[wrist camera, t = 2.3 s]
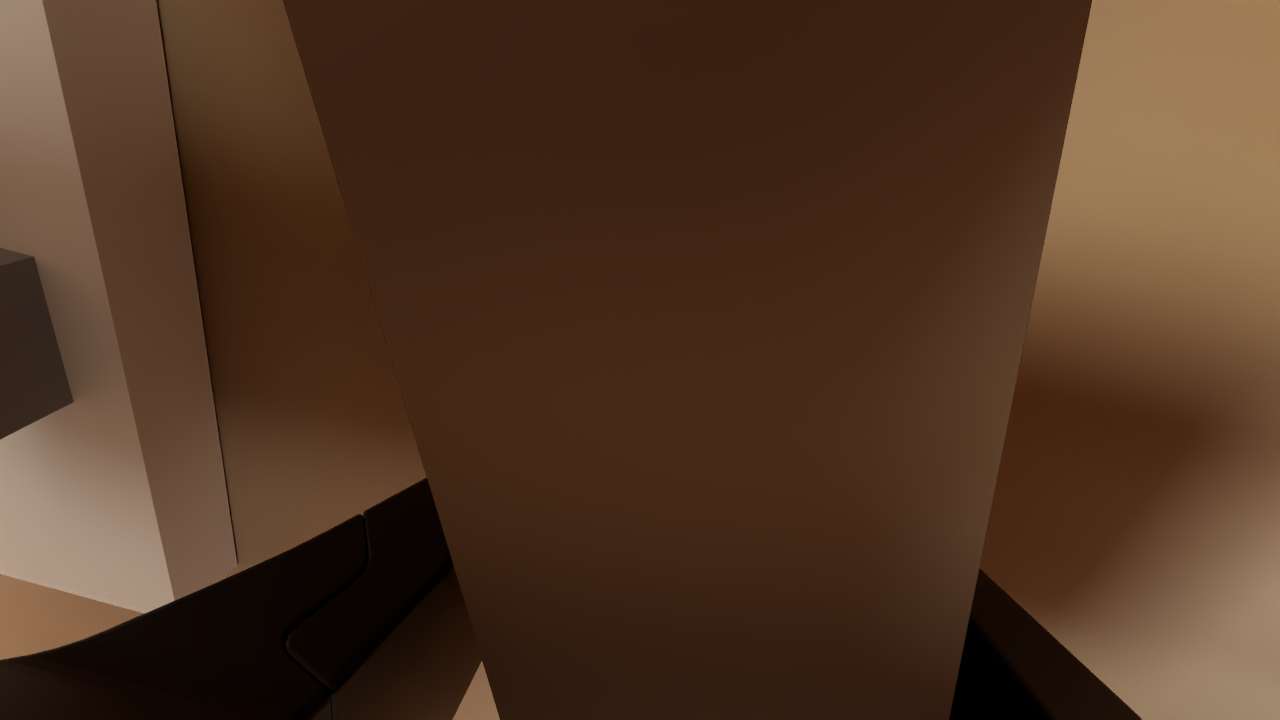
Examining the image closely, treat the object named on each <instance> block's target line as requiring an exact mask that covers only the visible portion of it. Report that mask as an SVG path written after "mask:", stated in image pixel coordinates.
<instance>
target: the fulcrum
mask: <svg viewBox="0 0 1280 720" xmlns="http://www.w3.org/2000/svg"><path fill="white" fill-rule="evenodd" d="M236 566H237V559H236V552H235V546H234V539H233V532H232V525H231V518H230V511H229V504H228V497H227V490H226V483H225V476H224V469H223V462H222V455H221V448H220V441H219V434H218V427H217V420H216V413H215V406H214V399H213V392H212V386H211V379H210V372H209V365H208V358H207V351H206V344H205V337H204V330H203V323H202V316H201V309H200V302H199V295H198V288H197V281H196V274H195V267H194V260H193V253H192V246H191V239H190V232H189V225H188V219H187V212H186V205H185V198H184V191H183V184H182V177H181V170H180V163H179V156H178V149H177V142H176V135H175V128H174V121H173V114H172V107H171V100H170V93H169V86H168V79H167V72H166V65H165V59H164V52H163V45H162V38H161V31H160V24H159V17H158V10H157V3H156V0H0V574H2V575H6V576H9V577H13V578H16V579H20V580H24V581H27V582H31V583H35V584H38V585H42V586H46V587H49V588H53V589H56V590H60V591H64V592H67V593H71V594H75V595H78V596H82V597H86V598H89V599H93V600H96V601H100V602H104V603H107V604H111V605H115V606H118V607H122V608H126V609H129V610H133V611H136V612H140V613H144V614H145V613H147V612H149V611H152V610H154V609H156V608H159V607H161V606H163V605H166V604H168V603H170V602H173V601H175V600H177V599H179V598H182V597H184V596H186V595H189V594H191V593H193V592H196V591H198V590H200V589H203V588H205V587H207V586H209V585H212V584H214V583H216V582H219V581H221V580H223V579H224V578H225V577H226V576H227V575H228V574H229V573H230V572H231V571H232V570H233V569H234V568H235V567H236Z"/></svg>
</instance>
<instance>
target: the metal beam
mask: <svg viewBox="0 0 1280 720" xmlns="http://www.w3.org/2000/svg"><path fill="white" fill-rule="evenodd" d="M283 2H284V6H285V9H286V12H287V16H288V19H289V22H290V25H291V29H292V32H293V35H294V39H295V42H296V45H297V49H298V52H299V55H300V59H301V62H302V65H303V68H304V72H305V75H306V78H307V82H308V85H309V88H310V92H311V95H312V98H313V102H314V105H315V108H316V112H317V115H318V118H319V121H320V125H321V128H322V131H323V135H324V138H325V141H326V145H327V148H328V151H329V155H330V158H331V161H332V164H333V168H334V171H335V174H336V178H337V181H338V184H339V188H340V191H341V194H342V198H343V201H344V204H345V207H346V211H347V214H348V217H349V221H350V224H351V227H352V231H353V234H354V237H355V241H356V244H357V247H358V251H359V254H360V257H361V260H362V264H363V267H364V270H365V274H366V277H367V280H368V284H369V287H370V290H371V294H372V297H373V300H374V303H375V307H376V310H377V313H378V317H379V320H380V323H381V327H382V330H383V333H384V337H385V340H386V343H387V347H388V350H389V353H390V356H391V360H392V363H393V366H394V370H395V373H396V376H397V380H398V383H399V386H400V390H401V393H402V396H403V399H404V403H405V406H406V409H407V413H408V416H409V419H410V423H411V426H412V429H413V433H414V436H415V439H416V443H417V446H418V449H419V452H420V456H421V459H422V462H423V466H424V469H425V472H426V476H427V479H428V482H429V486H430V489H431V492H432V495H433V499H434V502H435V505H436V509H437V512H438V515H439V519H440V522H441V525H442V529H443V532H444V535H445V539H446V542H447V545H448V548H449V552H450V555H451V558H452V562H453V565H454V568H455V572H456V575H457V578H458V582H459V585H460V588H461V591H462V595H463V598H464V601H465V605H466V608H467V611H468V615H469V618H470V621H471V625H472V628H473V631H474V635H475V638H476V641H477V644H478V648H479V651H480V654H481V658H482V661H483V664H484V668H485V671H486V674H487V678H488V681H489V684H490V687H491V691H492V694H493V697H494V701H495V704H496V707H497V711H498V714H499V717H500V720H949V717H950V712H951V707H952V702H953V697H954V692H955V687H956V682H957V677H958V672H959V667H960V662H961V657H962V652H963V647H964V642H965V637H966V632H967V627H968V622H969V617H970V612H971V607H972V602H973V597H974V592H975V587H976V582H977V577H978V572H979V567H980V561H981V556H982V551H983V546H984V541H985V536H986V531H987V526H988V521H989V516H990V511H991V506H992V501H993V496H994V491H995V486H996V481H997V476H998V471H999V466H1000V461H1001V456H1002V451H1003V446H1004V441H1005V436H1006V431H1007V426H1008V421H1009V416H1010V411H1011V406H1012V401H1013V396H1014V390H1015V385H1016V380H1017V375H1018V370H1019V365H1020V360H1021V355H1022V350H1023V345H1024V340H1025V335H1026V330H1027V325H1028V320H1029V315H1030V310H1031V305H1032V300H1033V295H1034V290H1035V285H1036V280H1037V275H1038V270H1039V265H1040V260H1041V255H1042V250H1043V245H1044V240H1045V235H1046V230H1047V225H1048V219H1049V214H1050V209H1051V204H1052V199H1053V194H1054V189H1055V184H1056V179H1057V174H1058V169H1059V164H1060V159H1061V154H1062V149H1063V144H1064V139H1065V134H1066V129H1067V124H1068V119H1069V114H1070V109H1071V104H1072V99H1073V94H1074V89H1075V84H1076V79H1077V74H1078V69H1079V64H1080V59H1081V53H1082V48H1083V43H1084V38H1085V33H1086V28H1087V23H1088V18H1089V13H1090V8H1091V3H1092V0H283Z"/></svg>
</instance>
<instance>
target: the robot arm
mask: <svg viewBox="0 0 1280 720" xmlns="http://www.w3.org/2000/svg"><path fill="white" fill-rule="evenodd" d="M481 661H482V658H481V654H480V651H479V648H478V644H477V641H476V638H475V635H474V631H473V628H472V625H471V621H470V618H469V615H468V611H467V608H466V605H465V601H464V598H463V595H462V591H461V588H460V585H459V582H458V578H457V575H456V572H455V568H454V565H453V562H452V558H451V555H450V552H449V548H448V545H447V542H446V539H445V535H444V532H443V529H442V525H441V522H440V519H439V515H438V512H437V509H436V505H435V502H434V499H433V495H432V492H431V489H430V486H429V482H428V479H427V478H425V479H423V480H421V481H419V482H418V483H416V484H414V485H412V486H410V487H408V488H406V489H405V490H403V491H401V492H399V493H397V494H395V495H393V496H392V497H390V498H388V499H386V500H384V501H382V502H380V503H379V504H377V505H375V506H373V507H371V508H369V509H367V510H366V511H364V512H363V516H362V515H361V514H358V515H356V516H354V517H352V518H350V519H348V520H346V521H345V522H343V523H341V524H339V525H337V526H335V527H333V528H332V529H330V530H328V531H326V532H324V533H322V534H320V535H318V536H316V537H314V538H312V539H310V540H308V541H306V542H304V543H302V544H300V545H298V546H296V547H294V548H292V549H290V550H288V551H286V552H283V553H281V554H279V555H277V556H275V557H272V558H270V559H268V560H266V561H264V562H262V563H259V564H257V565H255V566H253V567H251V568H248V569H246V570H244V571H242V572H240V573H237V574H235V575H233V576H230V577H228V578H226V579H223V580H221V581H219V582H216V583H214V584H212V585H209V586H207V587H205V588H203V589H200V590H198V591H196V592H193V593H191V594H189V595H186V596H184V597H182V598H179V599H177V600H175V601H173V602H170V603H168V604H166V605H163V606H161V607H159V608H156V609H154V610H152V611H149V612H147V613H145V614H142V615H140V616H138V617H136V618H133V619H131V620H129V621H126V622H124V623H122V624H119V625H117V626H115V627H112V628H110V629H108V630H105V631H103V632H100V633H98V634H95V635H93V636H90V637H88V638H85V639H83V640H80V641H76V642H73V643H70V644H67V645H64V646H61V647H58V648H55V649H51V650H47V651H43V652H39V653H35V654H31V655H26V656H21V657H15V658H9V659H3V660H0V720H452V719H453V717H454V715H455V713H456V711H457V709H458V707H459V705H460V703H461V701H462V699H463V697H464V695H465V693H466V691H467V689H468V687H469V685H470V683H471V681H472V679H473V677H474V675H475V673H476V671H477V669H478V667H479V665H480V663H481ZM949 720H1142V719H1141V718H1140V716H1138V715H1137V714H1136V713H1135V712H1134V711H1133V710H1132V709H1131V708H1130V707H1129V706H1128V705H1127V704H1126V703H1124V702H1123V701H1122V700H1121V699H1120V698H1119V697H1118V696H1117V695H1116V694H1115V693H1114V692H1113V691H1111V690H1110V689H1109V688H1108V687H1107V686H1106V685H1105V684H1104V683H1103V682H1102V681H1101V680H1100V679H1099V678H1097V677H1096V676H1095V675H1094V674H1093V673H1092V672H1091V671H1090V670H1089V669H1088V668H1087V667H1086V666H1085V665H1083V664H1082V663H1081V662H1080V661H1079V660H1078V659H1077V658H1076V657H1075V656H1074V655H1073V654H1072V653H1070V652H1069V651H1068V650H1067V649H1066V648H1065V647H1064V646H1063V645H1062V644H1061V643H1060V642H1059V641H1058V640H1056V639H1055V638H1054V637H1053V636H1052V635H1051V634H1050V633H1049V632H1048V631H1047V630H1046V629H1045V628H1043V627H1042V626H1041V625H1040V624H1039V623H1038V622H1037V621H1036V620H1035V619H1034V618H1033V617H1032V616H1031V615H1029V614H1028V613H1027V612H1026V611H1025V610H1024V609H1023V608H1022V607H1021V606H1020V605H1019V604H1018V603H1017V602H1015V601H1014V600H1013V599H1012V598H1011V597H1010V596H1009V595H1008V594H1007V593H1006V592H1005V591H1004V590H1003V589H1001V588H1000V587H999V586H998V585H997V584H996V583H995V582H994V581H993V580H992V579H991V578H990V577H988V576H987V575H986V574H985V573H984V572H983V571H982V570H981V569H980V568H979V572H978V577H977V582H976V587H975V592H974V597H973V602H972V607H971V612H970V617H969V622H968V627H967V632H966V637H965V642H964V647H963V652H962V657H961V662H960V667H959V672H958V677H957V682H956V687H955V692H954V697H953V702H952V707H951V712H950V717H949Z"/></svg>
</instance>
